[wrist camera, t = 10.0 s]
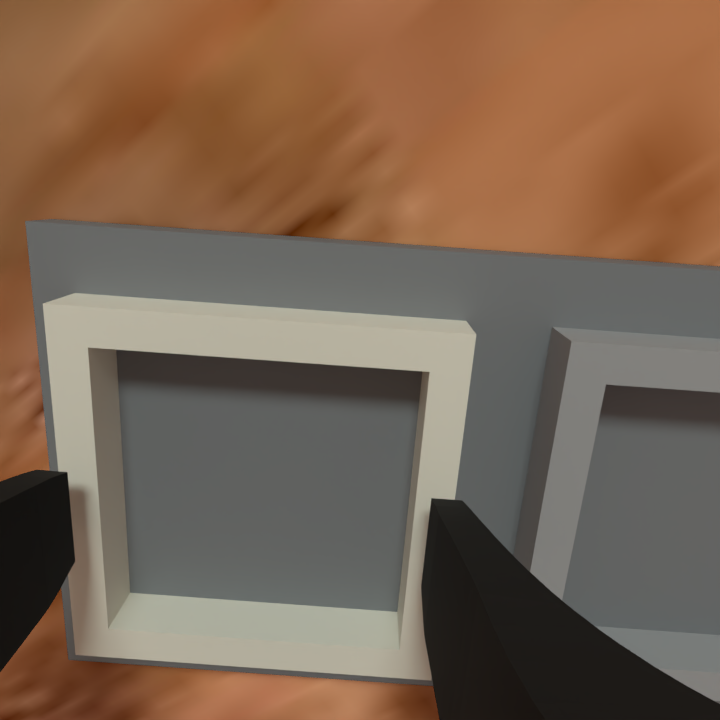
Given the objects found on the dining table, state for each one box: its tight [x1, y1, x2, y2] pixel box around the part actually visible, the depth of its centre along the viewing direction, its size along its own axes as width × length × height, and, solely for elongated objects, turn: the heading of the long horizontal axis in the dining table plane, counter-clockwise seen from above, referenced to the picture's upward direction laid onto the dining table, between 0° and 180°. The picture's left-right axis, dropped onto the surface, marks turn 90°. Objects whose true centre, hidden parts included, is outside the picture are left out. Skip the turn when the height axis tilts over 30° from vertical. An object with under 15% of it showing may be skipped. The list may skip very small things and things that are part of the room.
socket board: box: [25, 219, 720, 704], centre depth 13 cm, size 11×20×2 cm, turn 86°
